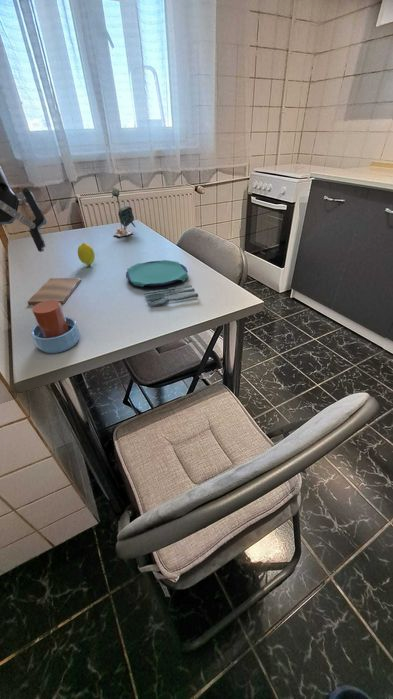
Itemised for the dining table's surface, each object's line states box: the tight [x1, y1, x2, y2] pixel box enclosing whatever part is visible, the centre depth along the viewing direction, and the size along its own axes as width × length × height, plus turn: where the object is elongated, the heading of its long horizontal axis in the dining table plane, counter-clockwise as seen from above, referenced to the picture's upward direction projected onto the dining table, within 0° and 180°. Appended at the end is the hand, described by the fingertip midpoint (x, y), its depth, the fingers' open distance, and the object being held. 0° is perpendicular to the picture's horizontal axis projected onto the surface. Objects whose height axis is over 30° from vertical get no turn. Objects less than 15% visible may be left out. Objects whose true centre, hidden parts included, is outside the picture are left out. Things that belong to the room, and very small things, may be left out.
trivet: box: [27, 277, 82, 306], centre depth 89 cm, size 16×10×1 cm, turn 0°
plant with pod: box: [111, 186, 136, 237], centre depth 131 cm, size 8×11×20 cm
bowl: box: [30, 316, 81, 354], centre depth 67 cm, size 9×10×4 cm
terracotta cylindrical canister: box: [31, 300, 69, 338], centre depth 65 cm, size 6×6×8 cm
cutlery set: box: [125, 259, 199, 307], centre depth 92 cm, size 20×30×2 cm, turn 17°
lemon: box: [77, 242, 96, 266], centre depth 104 cm, size 6×6×8 cm
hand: (18, 257), depth 55 cm, fingers open, 8 cm apart
